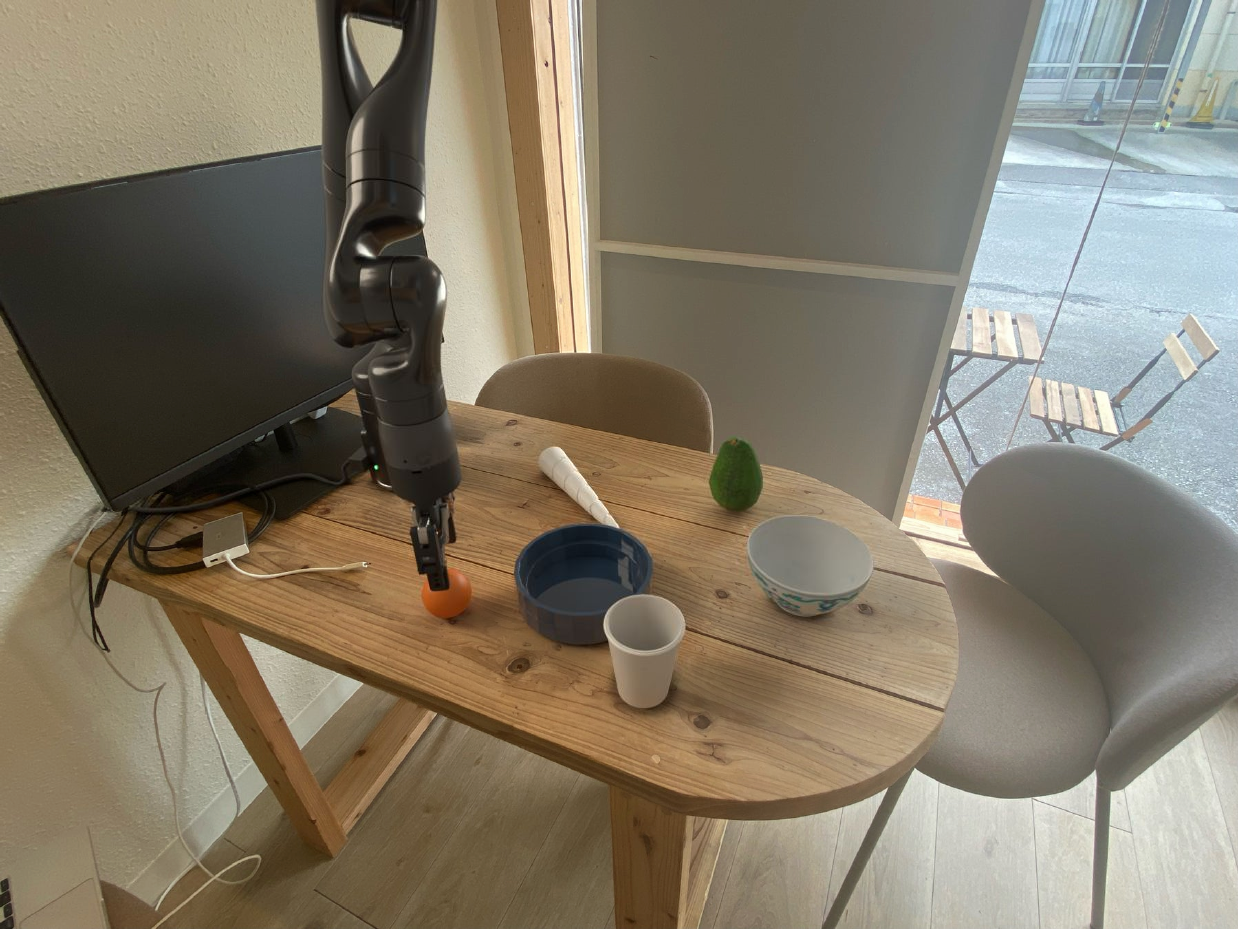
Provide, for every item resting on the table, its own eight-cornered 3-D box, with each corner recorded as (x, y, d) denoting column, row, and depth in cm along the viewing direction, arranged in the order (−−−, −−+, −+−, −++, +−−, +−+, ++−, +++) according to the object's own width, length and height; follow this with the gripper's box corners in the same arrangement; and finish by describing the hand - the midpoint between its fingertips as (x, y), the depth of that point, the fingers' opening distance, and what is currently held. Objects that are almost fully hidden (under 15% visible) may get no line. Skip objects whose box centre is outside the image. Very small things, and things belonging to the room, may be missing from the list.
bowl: (497, 635, 77) (492, 602, 74) (543, 546, 91) (540, 515, 88) (637, 660, 74) (637, 626, 71) (662, 564, 88) (663, 532, 85)
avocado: (718, 488, 103) (724, 422, 97) (765, 501, 100) (774, 434, 94) (699, 514, 97) (704, 446, 91) (749, 529, 94) (758, 459, 88)
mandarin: (417, 624, 79) (407, 585, 75) (439, 590, 84) (431, 552, 80) (462, 632, 77) (454, 592, 74) (482, 598, 82) (475, 559, 79)
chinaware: (719, 577, 85) (724, 532, 81) (811, 548, 90) (819, 504, 86) (786, 658, 74) (796, 610, 70) (887, 620, 79) (902, 572, 74)
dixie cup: (592, 703, 69) (589, 638, 63) (623, 648, 75) (623, 584, 70) (665, 730, 66) (668, 664, 60) (691, 670, 72) (696, 606, 67)
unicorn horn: (603, 552, 90) (602, 525, 87) (537, 473, 108) (535, 448, 105) (632, 542, 92) (632, 515, 89) (563, 466, 110) (561, 441, 107)
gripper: (395, 419, 74) (420, 531, 82) (370, 487, 62) (403, 610, 70) (461, 414, 74) (479, 526, 83) (449, 481, 62) (472, 603, 71)
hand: (444, 564), depth 76 cm, fingers open, 8 cm apart
